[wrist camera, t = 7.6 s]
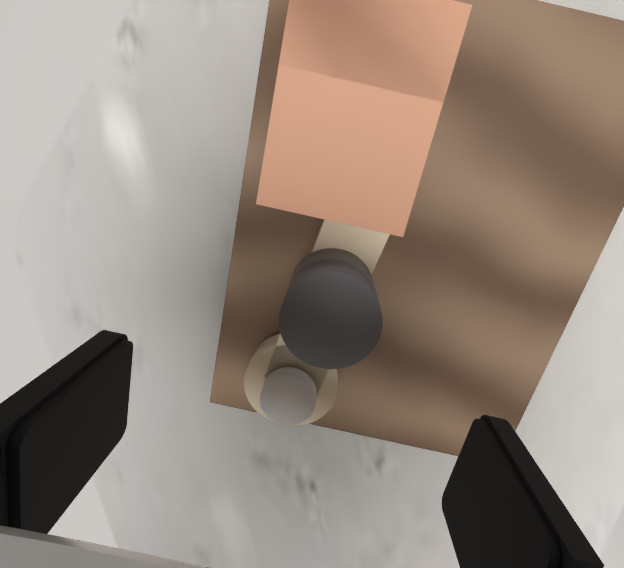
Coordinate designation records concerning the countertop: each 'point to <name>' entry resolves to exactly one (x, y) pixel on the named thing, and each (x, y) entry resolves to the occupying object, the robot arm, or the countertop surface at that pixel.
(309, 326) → the link
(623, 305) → the countertop surface
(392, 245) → the board
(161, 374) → the countertop surface
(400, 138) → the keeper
